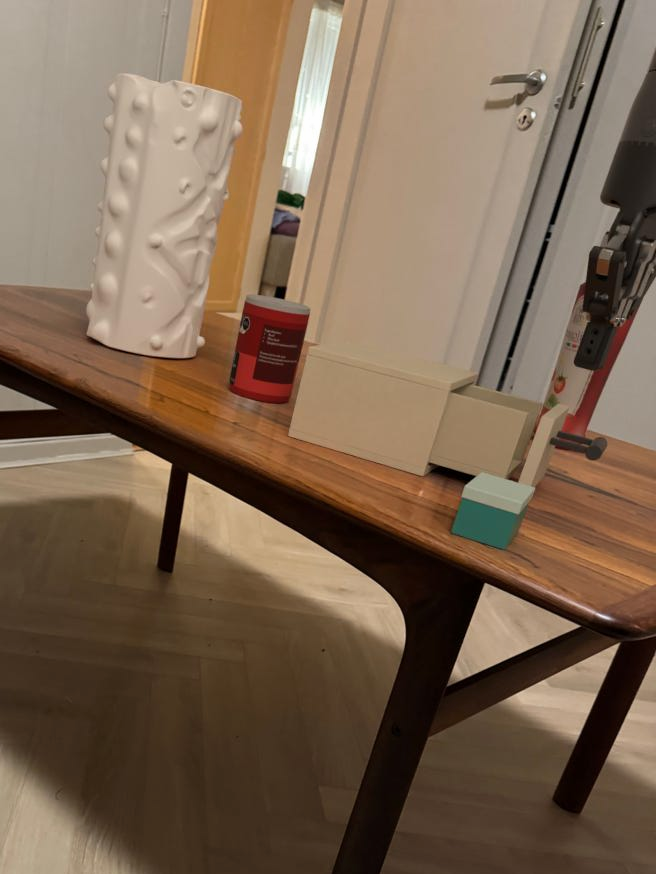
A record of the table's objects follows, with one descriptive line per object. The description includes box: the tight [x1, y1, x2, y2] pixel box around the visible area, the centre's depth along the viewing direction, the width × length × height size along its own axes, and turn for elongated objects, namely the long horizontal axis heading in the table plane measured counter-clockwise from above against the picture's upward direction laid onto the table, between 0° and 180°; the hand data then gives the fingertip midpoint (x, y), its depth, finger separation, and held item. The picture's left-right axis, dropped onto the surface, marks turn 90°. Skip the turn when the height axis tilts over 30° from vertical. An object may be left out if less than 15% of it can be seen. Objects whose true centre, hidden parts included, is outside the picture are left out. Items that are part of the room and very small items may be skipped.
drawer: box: [429, 384, 608, 488], centre depth 90 cm, size 18×11×7 cm, turn 61°
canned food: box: [228, 294, 312, 404], centre depth 109 cm, size 8×8×11 cm
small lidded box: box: [450, 472, 536, 551], centre depth 74 cm, size 5×7×4 cm
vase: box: [85, 72, 243, 359], centre depth 120 cm, size 17×16×32 cm
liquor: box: [533, 281, 644, 451], centre depth 111 cm, size 7×7×28 cm
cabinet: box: [287, 340, 479, 477], centre depth 94 cm, size 15×13×9 cm
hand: (587, 368), depth 79 cm, fingers closed
